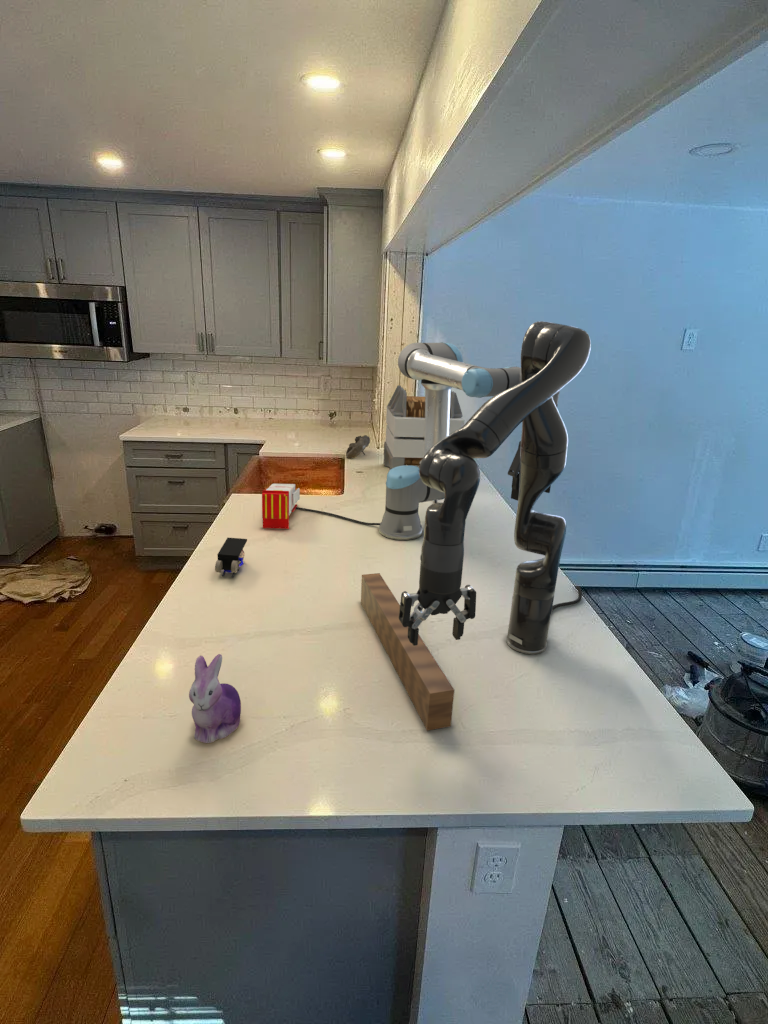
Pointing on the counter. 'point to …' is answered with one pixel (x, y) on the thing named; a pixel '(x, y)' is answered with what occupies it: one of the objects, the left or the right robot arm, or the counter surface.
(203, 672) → the figurine
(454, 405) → the slatted crate
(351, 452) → the fossil
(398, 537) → the left robot arm
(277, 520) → the toy
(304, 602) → the counter surface
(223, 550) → the figurine character
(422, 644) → the beam
